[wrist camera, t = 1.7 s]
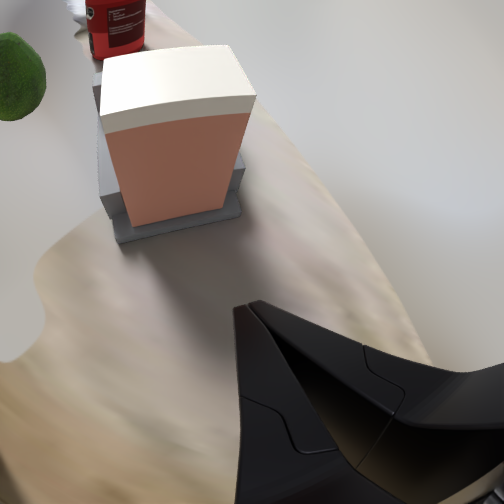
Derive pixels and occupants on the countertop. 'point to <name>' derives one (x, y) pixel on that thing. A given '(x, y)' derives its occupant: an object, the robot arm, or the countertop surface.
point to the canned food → (115, 27)
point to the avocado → (19, 78)
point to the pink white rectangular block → (174, 128)
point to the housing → (126, 232)
